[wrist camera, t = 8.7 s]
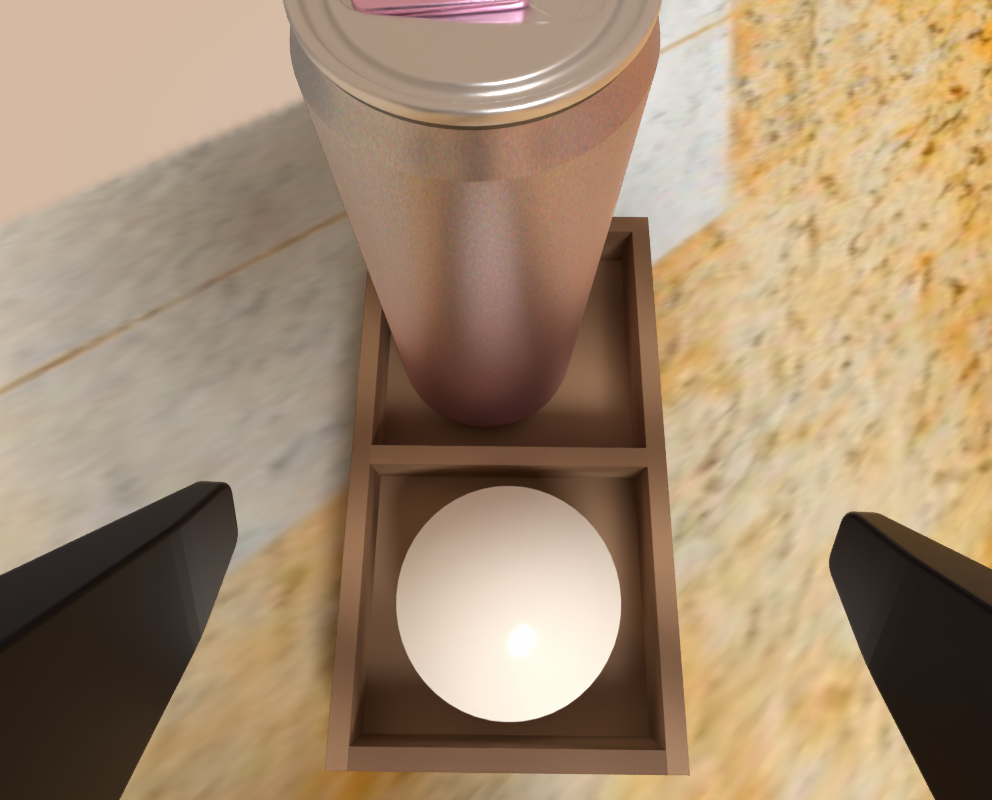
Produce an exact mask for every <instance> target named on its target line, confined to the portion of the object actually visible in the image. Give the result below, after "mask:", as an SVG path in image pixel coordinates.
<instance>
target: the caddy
mask: <svg viewBox="0 0 992 800" xmlns="http://www.w3.org/2000/svg"><path fill="white" fill-rule="evenodd" d="M498 486H516V487H526V488H530V489H535V490H539V491H541V492H544V493H547V494H550V495H552V496H554V497H556V498H558V499H560V500H562V501H564V502H565V503H567V504H568V505H570V506H571V507H573V508H574V509H575V510H577V511H578V512H579V513H580V514H581V515H582V516H583V517H585V518H586V519H587V520H588V522H589V523H590V524H591V525H592V526H593V527H594V528H595V530H596V531H597V532H598V534H599V535H600V537H601V538H602V540H603V541H604V543H605V545H606V547H607V549H608V551H609V553H610V555H611V557H612V560H613V563H614V565H615V568H616V571H617V576H618V580H619V584H620V594H621V617H620V623H619V630H618V634H617V637H616V641H615V645H614V647H613V650H612V652H611V654H610V657H609V659H608V661H607V663H606V664H605V666H604V668H603V669H602V671H601V673H600V674H599V675H598V677H597V678H596V679H595V680H594V682H593V683H592V684H591V686H590V687H589V688H587V689H586V690H585V691H584V692H583V693H582V694H581V695H580V696H579V697H578V698H576V699H575V700H574V701H572V702H571V703H569V704H568V705H567V706H565V707H563V708H561V709H559V710H557V711H555V712H554V713H551V714H548V715H546V716H543V717H540V718H537V719H531V720H526V721H518V722H501V721H491V720H487V719H483V718H479V717H475V716H473V715H470V714H468V713H465V712H463V711H461V710H459V709H457V708H456V707H454V706H452V705H450V704H449V703H447V702H446V701H445V700H443V699H442V698H441V697H440V696H438V695H437V694H436V693H435V692H434V691H433V690H432V689H431V688H430V687H429V686H428V685H427V684H426V683H425V682H424V680H423V679H422V678H421V676H420V675H419V674H418V672H417V671H416V670H415V668H414V666H413V664H412V662H411V661H410V659H409V657H408V655H407V653H406V650H405V647H404V645H403V642H402V639H401V635H400V631H399V627H398V620H397V612H396V594H397V586H398V579H399V575H400V571H401V568H402V564H403V562H404V559H405V557H406V554H407V552H408V550H409V548H410V546H411V544H412V542H413V541H414V539H415V537H416V536H417V534H418V533H419V532H420V530H421V529H422V528H423V526H424V525H425V524H426V523H427V522H428V521H429V520H430V519H431V518H432V517H433V516H434V515H435V514H436V513H437V512H438V511H440V510H441V509H442V508H443V507H445V506H446V505H448V504H449V503H451V502H453V501H454V500H456V499H458V498H460V497H462V496H464V495H466V494H468V493H471V492H475V491H478V490H481V489H485V488H491V487H498ZM325 771H385V772H464V773H543V774H622V775H690V770H689V757H688V744H687V730H686V717H685V704H684V690H683V677H682V664H681V651H680V637H679V624H678V611H677V597H676V584H675V571H674V558H673V544H672V531H671V518H670V504H669V491H668V478H667V464H666V451H665V438H664V425H663V411H662V398H661V385H660V371H659V358H658V345H657V332H656V318H655V305H654V292H653V278H652V265H651V252H650V239H649V225H648V217H612V220H611V223H610V227H609V230H608V233H607V237H606V240H605V243H604V247H603V250H602V254H601V257H600V260H599V264H598V267H597V271H596V274H595V277H594V281H593V284H592V287H591V291H590V294H589V298H588V301H587V304H586V308H585V311H584V315H583V318H582V321H581V325H580V328H579V331H578V335H577V338H576V342H575V345H574V348H573V352H572V355H571V359H570V362H569V365H568V369H567V372H566V375H565V377H564V380H563V382H562V384H561V386H560V387H559V389H558V391H557V392H556V393H555V395H554V396H553V397H552V398H551V400H550V401H549V402H548V403H547V404H546V405H545V406H544V407H542V408H541V409H540V410H539V411H537V412H536V413H534V414H533V415H531V416H529V417H527V418H525V419H523V420H521V421H519V422H516V423H513V424H509V425H505V426H500V427H489V428H484V427H473V426H467V425H463V424H460V423H457V422H454V421H452V420H449V419H447V418H445V417H443V416H442V415H440V414H438V413H437V412H436V411H434V410H433V409H432V408H430V407H429V406H428V405H427V404H426V403H425V402H424V401H423V400H422V399H421V398H420V396H419V395H418V394H417V392H416V391H415V389H414V388H413V386H412V384H411V382H410V380H409V377H408V375H407V372H406V369H405V367H404V364H403V361H402V359H401V356H400V353H399V351H398V348H397V345H396V343H395V340H394V337H393V335H392V332H391V329H390V327H389V324H388V321H387V319H386V316H385V313H384V311H383V308H382V305H381V303H380V300H379V297H378V295H377V292H376V289H375V287H374V284H373V282H372V279H371V276H370V274H369V271H368V270H367V282H366V294H365V305H364V317H363V329H362V341H361V352H360V364H359V376H358V388H357V399H356V411H355V423H354V435H353V446H352V458H351V470H350V482H349V493H348V505H347V517H346V528H345V540H344V552H343V564H342V575H341V587H340V599H339V611H338V622H337V634H336V646H335V658H334V669H333V681H332V693H331V705H330V716H329V728H328V740H327V752H326V763H325Z"/></svg>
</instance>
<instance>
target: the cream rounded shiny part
mask: <svg viewBox="0 0 992 800" xmlns="http://www.w3.org/2000/svg"><path fill="white" fill-rule="evenodd" d="M396 612H397V620H398V627H399V631H400V635H401V639H402V642H403V645H404V647H405V650H406V653H407V655H408V657H409V659H410V661H411V662H412V664H413V666H414V668H415V670H416V671H417V672H418V674H419V675H420V676H421V678H422V679H423V680H424V682H425V683H426V684H427V685H428V686H429V687H430V688H431V689H432V690H433V691H434V692H435V693H436V694H437V695H438V696H440V697H441V698H442V699H443V700H445V701H446V702H447V703H449V704H450V705H452V706H454V707H456V708H457V709H459V710H461V711H463V712H465V713H468V714H470V715H473V716H475V717H479V718H483V719H487V720H491V721H501V722H518V721H526V720H531V719H537V718H540V717H543V716H546V715H548V714H551V713H554V712H555V711H557V710H559V709H561V708H563V707H565V706H567V705H568V704H569V703H571V702H572V701H574V700H575V699H576V698H578V697H579V696H580V695H581V694H582V693H583V692H584V691H585V690H586V689H587V688H589V687H590V686H591V684H592V683H593V682H594V680H595V679H596V678H597V677H598V675H599V674H600V673H601V671H602V669H603V668H604V666H605V664H606V663H607V661H608V659H609V657H610V654H611V652H612V650H613V647H614V645H615V641H616V637H617V634H618V630H619V623H620V617H621V594H620V584H619V580H618V576H617V571H616V568H615V565H614V563H613V560H612V557H611V555H610V553H609V551H608V549H607V547H606V545H605V543H604V541H603V540H602V538H601V537H600V535H599V534H598V532H597V531H596V530H595V528H594V527H593V526H592V525H591V524H590V523H589V522H588V520H587V519H586V518H585V517H583V516H582V515H581V514H580V513H579V512H578V511H577V510H575V509H574V508H573V507H571V506H570V505H568V504H567V503H565V502H564V501H562V500H560V499H558V498H556V497H554V496H552V495H550V494H547V493H544V492H541V491H539V490H535V489H530V488H526V487H516V486H498V487H491V488H485V489H481V490H478V491H475V492H471V493H468V494H466V495H464V496H462V497H460V498H458V499H456V500H454V501H453V502H451V503H449V504H448V505H446V506H445V507H443V508H442V509H441V510H440V511H438V512H437V513H436V514H435V515H434V516H433V517H432V518H431V519H430V520H429V521H428V522H427V523H426V524H425V525H424V526H423V528H422V529H421V530H420V532H419V533H418V534H417V536H416V537H415V539H414V541H413V542H412V544H411V546H410V548H409V550H408V552H407V554H406V557H405V559H404V562H403V564H402V568H401V571H400V575H399V579H398V586H397V594H396Z"/></svg>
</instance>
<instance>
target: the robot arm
mask: <svg viewBox="0 0 992 800" xmlns="http://www.w3.org/2000/svg"><path fill="white" fill-rule="evenodd" d="M237 537H238V528H237V521H236V515H235V508H234V502H233V495H232V490H231V488H230V486H229V485H228V484H227V483H225V482H211V481H199V482H196V483H194V484H192V485H190V486H188V487H186V488H183V489H181V490H179V491H177V492H175V493H173V494H171V495H169V496H167V497H164V498H162V499H160V500H158V501H156V502H154V503H152V504H150V505H148V506H145V507H143V508H141V509H139V510H137V511H135V512H133V513H131V514H129V515H127V516H124V517H122V518H120V519H118V520H116V521H114V522H112V523H110V524H108V525H105V526H103V527H101V528H99V529H97V530H95V531H93V532H91V533H89V534H86V535H84V536H82V537H80V538H78V539H76V540H74V541H72V542H70V543H67V544H65V545H63V546H61V547H59V548H57V549H55V550H53V551H51V552H48V553H46V554H44V555H42V556H40V557H38V558H36V559H34V560H32V561H29V562H27V563H25V564H23V565H21V566H19V567H17V568H15V569H13V570H11V571H8V572H6V573H4V574H2V575H0V800H119V799H120V797H121V796H122V794H123V792H124V790H125V788H126V786H127V784H128V782H129V780H130V778H131V776H132V774H133V772H134V770H135V768H136V766H137V764H138V762H139V760H140V758H141V756H142V754H143V752H144V750H145V748H146V746H147V744H148V742H149V740H150V738H151V736H152V734H153V732H154V730H155V728H156V726H157V725H158V723H159V721H160V719H161V717H162V715H163V713H164V711H165V709H166V707H167V705H168V703H169V701H170V699H171V697H172V695H173V693H174V691H175V689H176V687H177V685H178V683H179V681H180V679H181V677H182V675H183V673H184V671H185V669H186V667H187V665H188V663H189V661H190V659H191V657H192V655H193V654H194V651H195V649H196V647H197V645H198V643H199V641H200V639H201V637H202V634H203V632H204V629H205V627H206V624H207V622H208V619H209V617H210V614H211V611H212V608H213V606H214V603H215V600H216V598H217V595H218V592H219V590H220V587H221V584H222V581H223V579H224V576H225V573H226V571H227V568H228V565H229V563H230V560H231V557H232V555H233V552H234V549H235V546H236V543H237ZM829 568H830V573H831V576H832V578H833V581H834V584H835V586H836V589H837V591H838V594H839V596H840V599H841V602H842V604H843V607H844V609H845V612H846V614H847V617H848V620H849V622H850V625H851V627H852V630H853V633H854V635H855V638H856V640H857V643H858V645H859V648H860V651H861V653H862V655H863V658H864V660H865V662H866V665H867V667H868V669H869V671H870V673H871V675H872V677H873V680H874V682H875V684H876V686H877V688H878V690H879V692H880V694H881V695H882V697H883V699H884V701H885V703H886V705H887V707H888V709H889V711H890V713H891V715H892V717H893V719H894V721H895V723H896V725H897V727H898V729H899V731H900V733H901V735H902V736H903V738H904V740H905V742H906V744H907V746H908V748H909V750H910V752H911V754H912V756H913V758H914V760H915V762H916V764H917V766H918V768H919V770H920V772H921V774H922V776H923V777H924V779H925V781H926V783H927V785H928V787H929V789H930V791H931V793H932V795H933V797H934V799H935V800H992V569H990V568H988V567H986V566H984V565H982V564H980V563H978V562H976V561H974V560H972V559H970V558H968V557H966V556H964V555H962V554H960V553H958V552H956V551H954V550H952V549H950V548H948V547H946V546H944V545H942V544H940V543H938V542H936V541H934V540H932V539H930V538H928V537H926V536H924V535H922V534H920V533H918V532H916V531H913V530H911V529H909V528H907V527H905V526H903V525H901V524H899V523H897V522H895V521H893V520H891V519H889V518H887V517H885V516H883V515H881V514H879V513H874V512H849V513H847V514H846V515H845V516H844V517H843V519H842V521H841V524H840V527H839V530H838V533H837V536H836V539H835V542H834V545H833V548H832V551H831V554H830V558H829Z"/></svg>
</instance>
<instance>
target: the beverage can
mask: <svg viewBox="0 0 992 800" xmlns="http://www.w3.org/2000/svg"><path fill="white" fill-rule="evenodd" d="M283 3H284V7H285V10H286V14H287V17H288V20H289V23H290V53H291V59H292V65H293V69H294V73H295V76H296V79H297V82H298V84H299V87H300V90H301V92H302V95H303V98H304V100H305V103H306V106H307V108H308V111H309V114H310V116H311V119H312V122H313V124H314V127H315V130H316V132H317V135H318V138H319V140H320V143H321V146H322V148H323V151H324V154H325V156H326V159H327V162H328V164H329V167H330V170H331V172H332V175H333V178H334V180H335V183H336V186H337V188H338V191H339V194H340V196H341V199H342V202H343V204H344V207H345V210H346V212H347V215H348V218H349V220H350V223H351V226H352V228H353V231H354V234H355V236H356V239H357V242H358V244H359V247H360V250H361V252H362V255H363V258H364V260H365V263H366V266H367V268H368V271H369V274H370V276H371V279H372V282H373V284H374V287H375V289H376V292H377V295H378V297H379V300H380V303H381V305H382V308H383V311H384V313H385V316H386V319H387V321H388V324H389V327H390V329H391V332H392V335H393V337H394V340H395V343H396V345H397V348H398V351H399V353H400V356H401V359H402V361H403V364H404V367H405V369H406V372H407V375H408V377H409V380H410V382H411V384H412V386H413V388H414V389H415V391H416V392H417V394H418V395H419V396H420V398H421V399H422V400H423V401H424V402H425V403H426V404H427V405H428V406H429V407H430V408H432V409H433V410H434V411H436V412H437V413H438V414H440V415H442V416H443V417H445V418H447V419H449V420H452V421H454V422H457V423H460V424H463V425H467V426H473V427H484V428H489V427H500V426H505V425H509V424H513V423H516V422H519V421H521V420H523V419H525V418H527V417H529V416H531V415H533V414H534V413H536V412H537V411H539V410H540V409H541V408H542V407H544V406H545V405H546V404H547V403H548V402H549V401H550V400H551V398H552V397H553V396H554V395H555V393H556V392H557V391H558V389H559V387H560V386H561V384H562V382H563V380H564V377H565V375H566V372H567V369H568V365H569V362H570V359H571V355H572V352H573V348H574V345H575V342H576V338H577V335H578V331H579V328H580V325H581V321H582V318H583V315H584V311H585V308H586V304H587V301H588V298H589V294H590V291H591V287H592V284H593V281H594V277H595V274H596V271H597V267H598V264H599V260H600V257H601V254H602V250H603V247H604V243H605V240H606V237H607V233H608V230H609V227H610V223H611V220H612V216H613V213H614V210H615V206H616V203H617V199H618V196H619V193H620V189H621V186H622V183H623V179H624V176H625V172H626V169H627V166H628V162H629V159H630V155H631V152H632V149H633V145H634V142H635V139H636V135H637V132H638V128H639V125H640V122H641V118H642V115H643V111H644V108H645V105H646V101H647V98H648V95H649V91H650V88H651V84H652V81H653V78H654V74H655V71H656V67H657V63H658V58H659V51H660V26H659V16H658V14H659V11H660V7H661V3H662V0H283Z"/></svg>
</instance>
